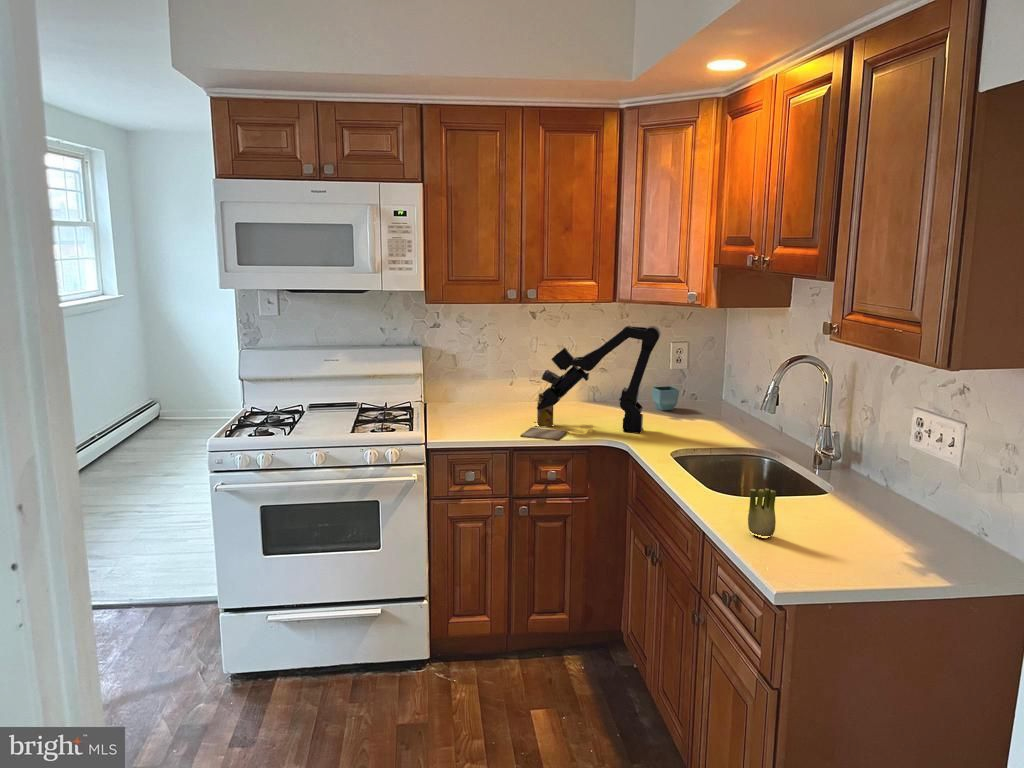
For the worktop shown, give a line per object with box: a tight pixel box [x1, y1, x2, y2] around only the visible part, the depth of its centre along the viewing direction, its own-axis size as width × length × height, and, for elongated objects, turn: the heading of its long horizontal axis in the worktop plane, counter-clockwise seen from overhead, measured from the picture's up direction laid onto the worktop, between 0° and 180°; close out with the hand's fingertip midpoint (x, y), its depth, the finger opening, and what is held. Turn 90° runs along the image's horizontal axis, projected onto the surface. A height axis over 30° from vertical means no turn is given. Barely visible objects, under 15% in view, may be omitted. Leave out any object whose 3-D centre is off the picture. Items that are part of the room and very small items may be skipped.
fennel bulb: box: [747, 487, 777, 537], centre depth 185 cm, size 6×5×12 cm
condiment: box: [533, 392, 556, 428], centre depth 294 cm, size 7×8×12 cm
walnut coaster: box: [519, 427, 568, 441], centre depth 281 cm, size 14×12×1 cm
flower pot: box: [651, 385, 680, 411], centre depth 322 cm, size 9×9×9 cm
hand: (540, 406), depth 294 cm, fingers open, 9 cm apart
